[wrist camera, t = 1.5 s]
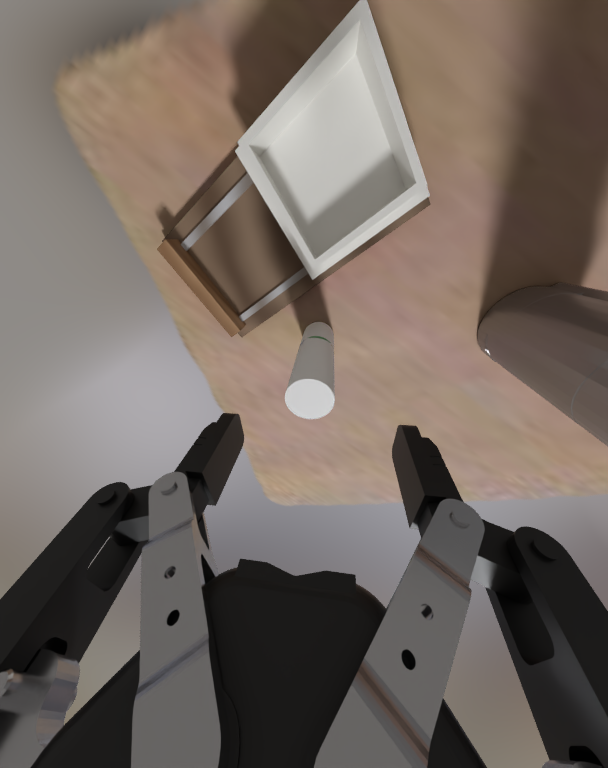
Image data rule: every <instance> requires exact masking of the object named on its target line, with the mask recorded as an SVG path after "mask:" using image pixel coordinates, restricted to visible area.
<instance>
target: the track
mask: <svg viewBox="0 0 608 768" xmlns="http://www.w3.org/2000/svg"><path fill="white" fill-rule="evenodd" d="M429 205H430V201H429V198H428V197H427V198H426V199H424V200H423V201H422V202H420V203H419V204H417V205H416V206H415V207H413V208H412V209H410V210H409V211H408V212H406V213H405V214H404V215H402V216H401V217H399V218H398V219H397V220H395V221H394V222H392V223H391V224H390V225H388V226H387V227H385V228H384V229H383V230H381V231H380V232H378V233H377V234H376V235H374V236H373V237H372V238H370V239H369V240H367V241H366V242H365V243H363V244H362V245H360V246H359V247H358V248H356V249H355V250H353V251H352V252H351V253H349V254H348V255H347V256H345V257H344V258H342V259H341V260H340V261H338V262H337V263H335V264H334V265H333V266H331V267H330V268H328V269H327V270H326V271H324V272H323V273H321V274H320V275H319V276H317V277H316V278H315V279H313V280H312V278H311V277H310V275H309V273H308V272H307V270H306V268H305V267H304V265H303V263H302V262H301V260H300V258H299V257H298V255H297V253H296V252H295V250H294V248H293V247H292V245H291V243H290V242H289V240H288V238H287V237H286V235H285V233H284V232H283V230H282V228H281V227H280V225H279V223H278V222H277V220H276V219H275V217H274V215H273V214H272V212H271V210H270V209H269V207H268V205H267V204H266V202H265V200H264V199H263V197H262V195H261V194H260V192H259V190H258V189H257V187H256V185H255V184H254V182H253V180H252V179H251V177H250V175H249V174H248V172H247V170H246V169H245V167H244V166H243V164H242V162H241V161H240V159H239V157H238V156H237V157H236V158H235V159H234V161H233V162H232V163H231V164H230V165H229V166H228V167H227V168H226V170H225V171H224V172H223V173H222V174H221V175H220V176H219V177H218V179H217V180H216V181H215V182H214V183H213V184H212V185H211V187H210V188H209V189H208V190H207V191H206V192H205V193H204V194H203V196H202V197H201V198H200V199H199V200H198V201H197V202H196V203H195V205H194V206H193V207H192V208H191V209H190V210H189V211H188V212H187V214H186V215H185V216H184V217H183V218H182V219H181V220H180V221H179V223H178V224H177V225H176V226H175V227H174V228H173V229H172V230H171V232H170V233H169V234H168V235H167V236H166V237H165V238H164V240H163V241H162V242H163V243H162V244H161V245H160V246H159V247H158V248H157V250H158V251H159V252H160V253H161V255H162V256H163V257H164V258H165V259H166V261H167V262H168V263H169V264H170V265H171V266H172V268H173V269H174V270H175V271H176V272H177V274H178V275H179V276H180V277H181V278H182V279H183V281H184V282H185V283H186V284H187V285H188V286H189V288H190V289H191V290H192V291H193V292H194V294H195V295H196V296H197V297H198V298H199V299H200V301H201V302H202V303H203V304H204V305H205V306H206V308H207V309H208V310H209V311H210V312H211V314H212V315H213V316H214V317H215V318H216V319H217V321H218V322H219V323H220V324H221V325H222V327H223V328H224V329H225V330H226V331H227V332H228V334H229V335H230V336H231V337H232V336H234V335H235V334H237V333H238V334H239V335H240V336H241V337H243V336H244V335H246V334H247V333H249V332H250V331H251V330H253V329H254V328H256V327H257V326H259V325H260V324H261V323H263V322H264V321H266V320H267V319H269V318H270V317H271V316H273V315H274V314H276V313H277V312H278V311H280V310H281V309H283V308H284V307H286V306H287V305H288V304H290V303H291V302H293V301H294V300H295V299H297V298H298V297H300V296H301V295H303V294H304V293H305V292H307V291H308V290H310V289H311V288H313V287H314V286H315V285H317V284H318V283H320V282H321V281H322V280H324V279H325V278H327V277H328V276H330V275H331V274H332V273H334V272H335V271H337V270H338V269H340V268H341V267H342V266H344V265H345V264H347V263H348V262H349V261H351V260H352V259H354V258H355V257H357V256H358V255H359V254H361V253H362V252H364V251H365V250H366V249H368V248H369V247H371V246H372V245H374V244H375V243H376V242H378V241H379V240H381V239H382V238H384V237H385V236H386V235H388V234H389V233H391V232H392V231H393V230H395V229H396V228H398V227H399V226H401V225H402V224H403V223H405V222H406V221H408V220H409V219H411V218H412V217H413V216H415V215H416V214H418V213H419V212H420V211H422V210H423V209H425V208H426V207H428V206H429Z"/></svg>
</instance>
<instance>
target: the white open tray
mask: <svg viewBox="0 0 608 768" xmlns="http://www.w3.org/2000/svg"><path fill="white" fill-rule="evenodd" d="M237 143H238V144H239V147H238V148H237V149H236V150H235V152H236V154H237V156H238V157H239V159H240V161H241V162H242V164H243V166H244V167H245V169H246V170H247V172H248V174H249V175H250V177H251V179H252V180H253V182H254V184H255V185H256V187H257V189H258V190H259V192H260V194H261V195H262V197H263V199H264V200H265V202H266V204H267V205H268V207H269V209H270V210H271V212H272V214H273V215H274V217H275V219H276V220H277V222H278V223H279V225H280V227H281V228H282V230H283V232H284V233H285V235H286V237H287V238H288V240H289V242H290V243H291V245H292V247H293V248H294V250H295V252H296V253H297V255H298V257H299V258H300V260H301V262H302V263H303V265H304V267H305V268H306V270H307V272H308V273H309V275H310V277H311V278H312V280H313V279H315V278H316V277H317V276H319V275H320V274H321V273H323V272H324V271H326V270H327V269H328V268H330V267H331V266H333V265H334V264H335V263H337V262H338V261H340V260H341V259H342V258H344V257H345V256H347V255H348V254H349V253H351V252H352V251H353V250H355V249H356V248H358V247H359V246H360V245H362V244H363V243H365V242H366V241H367V240H369V239H370V238H372V237H373V236H374V235H376V234H377V233H378V232H380V231H381V230H383V229H384V228H385V227H387V226H388V225H390V224H391V223H392V222H394V221H395V220H397V219H398V218H399V217H401V216H402V215H404V214H405V213H406V212H408V211H409V210H410V209H412V208H413V207H415V206H416V205H417V204H419V203H420V202H422V201H423V200H424V199H426V198H427V197H429V196H430V194H429V191H428V188H427V186H428V185H427V182H426V179H425V176H424V173H423V170H422V167H421V164H420V161H419V158H418V155H417V152H416V149H415V146H414V142H413V139H412V136H411V133H410V130H409V127H408V124H407V121H406V118H405V115H404V112H403V109H402V106H401V103H400V100H399V97H398V94H397V91H396V87H395V84H394V81H393V78H392V75H391V72H390V69H389V66H388V63H387V60H386V57H385V54H384V51H383V48H382V45H381V42H380V39H379V36H378V33H377V29H376V26H375V23H374V20H373V17H372V14H371V11H370V8H369V5H368V2H367V0H359V1H358V3H357V4H356V5H355V6H354V7H353V8H352V10H351V11H350V12H349V13H348V14H347V15H346V17H345V18H344V19H343V20H342V21H341V22H340V23H339V25H338V26H337V27H336V28H335V29H334V30H333V32H332V33H331V34H330V35H329V36H328V37H327V39H326V40H325V41H324V42H323V43H322V44H321V46H320V47H319V48H318V49H317V50H316V51H315V53H314V54H313V55H312V56H311V57H310V58H309V59H308V61H307V62H306V63H305V64H304V65H303V66H302V68H301V69H300V70H299V71H298V72H297V73H296V75H295V76H294V77H293V78H292V79H291V80H290V82H289V83H288V84H287V85H286V86H285V87H284V88H283V90H282V91H281V92H280V93H279V94H278V95H277V97H276V98H275V99H274V100H273V101H272V102H271V104H270V105H269V106H268V107H267V108H266V109H265V111H264V112H263V113H262V114H261V115H260V116H259V117H258V119H257V120H256V121H255V122H254V123H253V124H252V126H251V127H250V128H249V129H248V130H247V131H246V133H245V134H244V135H243V136H242V137H241V138H240V140H239V141H238V142H237Z"/></svg>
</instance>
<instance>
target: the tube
mask: <svg viewBox="0 0 608 768" xmlns="http://www.w3.org/2000/svg"><path fill="white" fill-rule="evenodd" d="M285 402H286V405H287V407H288V408H289V410H290V411H291V412H292V413H294V414H295V415H297V416H299V417H302V418H305V419H317V418H321V417H323V416H325V415H327V414H328V413H329V412H330V411H331V410H332V408H333V406H334V402H335V392H334V334H333V331H332V329H331V327H330V326H329V325H327V324H326V323H323V322H314V323H311V324H310V325H308V326H307V328H306V329H305V331H304V334H303V337H302V341H301V344H300V347H299V350H298V354H297V357H296V360H295V364H294V367H293V370H292V374H291V377H290V380H289V384H288V387H287V390H286V394H285Z"/></svg>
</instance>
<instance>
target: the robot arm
mask: <svg viewBox="0 0 608 768" xmlns="http://www.w3.org/2000/svg"><path fill="white" fill-rule="evenodd" d="M477 339H478V344H479V346H480V348H481V350H482V351H483V352H484V353H485V354H486V355H488V356H489V357H490V358H491V359H492V360H494V361H495V362H497V363H498V364H500V365H501V366H502V367H503V368H505V369H506V370H507V371H509V372H510V373H511V374H513V375H514V376H515V377H517V378H518V379H519V380H521V381H522V382H523V383H524V384H526V385H527V386H528V387H530V388H531V389H532V390H534V391H535V392H536V393H538V394H539V395H540V396H542V397H543V398H544V399H546V400H547V401H548V402H550V403H551V404H552V405H554V406H555V407H556V408H558V409H559V410H560V411H562V412H563V413H564V414H566V415H567V416H568V417H569V418H571V419H572V420H573V421H575V422H576V423H577V424H579V425H580V426H581V427H583V428H584V429H585V430H587V431H588V432H589V433H591V434H592V435H593V436H595V437H596V438H597V439H599V440H600V441H601V442H603V443H604V444H605V445H607V446H608V292H607V291H602V290H597V289H592V288H587V287H582V286H577V285H572V284H566V283H561V282H560V283H558V284H555V285H553V286H550V287H541V286H535V287H528V288H524V289H521V290H518V291H516V292H514V293H512V294H509V295H507V296H506V297H504V298H503V299H502V300H500V301H499V302H497V303H496V304H495V305H494V306H493V307H492V308H491V309H490V310H489V311H488V313H487V314H486V315H485V317H484V318H483V320H482V322H481V324H480V327H479V330H478V337H477ZM243 443H244V434H243V429H242V425H241V420H240V416H239V414H231V413H223V414H222V415H221V416H220V418H219V420H218V421H217V423H216V422H213V423H211V424H210V425H208V426H207V427H206V428H205V429H204V430H203V431H202V432H201V434H200V436H199V437H198V439H197V440H196V441H195V443H194V445H193V446H192V447H191V448H190V450H189V451H188V453H187V454H186V456H185V457H184V459H183V460H182V461H181V463H180V464H179V466H178V467H177V469H176V470H175V471H174V472H172V473H169V474H166V475H164V476H162V477H161V478H159V479H158V480H157V481H156V482H155V483H154V484H153V485H151V486H146V487H141V488H136V489H131V490H130V488H129V487H128V485H127V484H125V483H122V482H116V483H113V484H109V485H107V486H105V487H103V488H101V489H100V490H99V491H97V492H96V493H95V494H93V495H92V497H91V498H90V499H89V500H88V501H87V502H86V503H85V504H84V505H83V507H82V508H81V509H80V510H79V511H78V512H77V513H76V514H75V516H74V517H73V518H72V519H71V520H70V521H69V522H68V524H67V525H66V526H65V527H64V528H63V529H62V530H61V532H60V533H59V534H58V535H57V536H56V537H55V538H54V539H53V541H52V542H51V543H50V544H49V545H48V546H47V547H46V548H45V550H44V551H43V552H42V553H41V554H40V555H39V556H38V557H37V559H36V560H35V561H34V562H33V563H32V564H31V566H30V567H29V568H28V569H27V570H26V571H25V572H24V573H23V574H22V576H21V577H20V578H19V579H18V580H17V581H16V582H15V584H14V585H13V586H12V587H11V588H10V589H9V590H8V591H7V593H6V594H5V595H4V596H3V597H2V598H1V599H0V768H487V767H486V765H485V764H484V762H483V761H482V759H481V758H480V756H479V754H478V753H477V751H476V749H475V748H474V746H473V745H472V743H471V742H470V740H469V738H468V737H467V735H466V734H465V732H464V730H463V729H462V727H461V726H460V724H459V723H458V721H457V720H456V718H455V716H454V715H453V713H452V711H451V710H450V708H449V707H448V705H447V704H446V702H445V700H444V699H443V695H444V692H445V689H446V685H447V681H448V678H449V674H450V671H451V667H452V664H453V660H454V656H455V653H456V649H457V645H458V642H459V638H460V635H461V631H462V628H463V624H464V621H465V617H466V613H467V610H468V606H469V603H470V598H471V589H470V588H469V583H470V580H472V581H474V582H476V583H478V584H480V585H482V586H484V587H485V588H486V590H487V593H488V595H489V598H490V601H491V604H492V606H493V609H494V612H495V615H496V617H497V620H498V623H499V625H500V628H501V631H502V633H503V636H504V639H505V641H506V644H507V647H508V649H509V652H510V655H511V658H512V660H513V663H514V666H515V668H516V671H517V674H518V676H519V679H520V682H521V684H522V687H523V690H524V693H525V695H526V698H527V700H528V703H529V706H530V709H531V711H532V714H533V717H534V719H535V722H536V724H537V728H538V730H539V732H540V736H541V738H542V741H543V743H544V746H545V749H546V752H547V754H548V757H549V761H548V762H546V763H545V764H544V765H543V766H542V768H608V611H607V610H606V608H605V607H604V605H603V604H602V602H601V601H600V599H599V598H598V596H597V595H596V593H595V592H594V590H593V589H592V587H591V586H590V584H589V583H588V581H587V580H586V579H585V577H584V576H583V574H582V573H581V571H580V570H579V568H578V567H577V565H576V564H575V562H574V561H573V559H572V558H571V556H570V555H569V554H568V552H567V551H566V550H565V549H564V547H563V546H562V545H561V544H560V543H558V542H557V541H556V540H555V539H554V538H552V537H550V536H549V535H548V534H546V533H544V532H542V531H540V530H538V529H535V528H531V527H520V528H518V529H517V530H516V531H515V532H512V531H510V530H507V529H504V528H502V527H500V526H497V525H494V524H492V523H489V522H487V521H485V520H483V519H481V517H480V516H479V515H478V513H476V511H475V510H474V509H473V508H471V507H470V506H469V505H467V504H466V503H464V502H463V500H462V498H461V496H460V494H459V492H458V490H457V488H456V486H455V484H454V482H453V479H452V477H451V475H450V473H449V471H448V469H447V467H446V465H445V463H444V460H443V459H442V456H441V454H440V452H439V450H438V448H437V446H436V445H435V444H434V443H433V442H432V441H431V440H430V439H429V438H423V437H421V435H420V432H419V430H418V428H417V427H416V426H409V425H399V426H398V428H397V432H396V436H395V440H394V443H393V448H392V458H393V463H394V467H395V471H396V475H397V479H398V483H399V487H400V491H401V495H402V499H403V503H404V506H405V511H406V515H407V519H408V523H409V527H410V529H417V530H419V532H420V535H421V540H420V542H419V544H418V546H417V548H416V550H415V552H414V554H413V556H412V558H411V560H410V562H409V564H408V566H407V568H406V570H405V572H404V574H403V576H402V578H401V580H400V582H399V585H398V586H397V588H396V590H395V592H394V594H393V596H392V598H391V600H390V603H389V604H388V607H387V608H385V607H384V606H383V605H382V604H381V602H379V600H378V599H377V598H376V597H375V596H374V595H372V594H371V593H370V592H369V591H367V590H366V589H364V588H363V587H361V586H359V585H357V584H356V578H355V575H353V574H346V573H339V572H331V571H322V572H316V573H310V574H305V575H299V576H293V575H291V574H289V573H287V572H285V571H283V570H281V569H279V568H277V567H275V566H273V565H271V564H269V563H267V562H260V561H253V560H246V559H240V561H239V564H238V567H237V568H234V569H230V570H227V571H225V572H223V573H221V574H219V573H218V570H217V566H216V563H215V560H214V558H213V554H212V549H211V545H210V540H209V535H208V530H207V526H206V521H205V516H204V513H203V512H204V510H205V508H206V506H207V505H216V504H217V502H218V499H219V497H220V495H221V493H222V491H223V488H224V486H225V484H226V482H227V480H228V477H229V475H230V473H231V471H232V468H233V466H234V464H235V462H236V460H237V458H238V455H239V453H240V451H241V449H242V446H243ZM108 537H110V538H109V540H108V541H107V542H106V544H105V545H104V543H105V541H106V540H107V539H108ZM103 545H104V547H103V548H102V550H101V551H100V552H99V550H100V549H101V547H102V546H103ZM98 552H99V554H98V555H97V557H96V558H95V559H94V557H95V556H96V554H97V553H98ZM141 553H142V560H141V561H142V562H141V621H140V650H139V651H138V652H137V653H136V654H135V655H134V656H133V657H132V658H131V659H130V660H129V661H128V662H127V663H126V664H125V665H124V666H123V667H122V668H121V669H120V670H119V671H118V672H117V673H116V674H115V675H114V676H113V677H112V678H111V679H110V680H109V681H108V682H107V683H106V684H105V685H104V686H103V687H102V688H101V689H100V690H99V691H98V692H97V693H96V694H95V695H94V696H93V697H92V698H91V699H90V700H89V701H88V702H87V703H86V704H85V705H84V706H83V707H82V708H81V709H80V710H79V711H78V712H77V713H76V714H75V715H74V716H73V717H72V718H71V719H70V720H69V721H68V722H67V723H66V724H65V725H64V719H65V715H66V711H67V710H68V709H69V708H70V707H71V705H72V704H73V702H74V700H75V697H76V695H77V684H78V680H79V675H80V668H79V662H80V660H81V659H82V657H83V655H84V653H85V651H86V650H87V648H88V646H89V644H90V643H91V641H92V639H93V637H94V636H95V634H96V632H97V630H98V629H99V627H100V625H101V623H102V621H103V620H104V618H105V616H106V615H107V612H108V611H109V609H110V607H111V605H112V604H113V602H114V600H115V599H116V597H117V595H118V593H119V592H120V590H121V588H122V586H123V584H124V583H125V581H126V579H127V578H128V576H129V574H130V572H131V570H132V569H133V567H134V565H135V563H136V562H137V560H138V558H139V556H140V555H141ZM93 559H94V561H93V562H92V564H91V565H90V563H91V561H92V560H93ZM89 565H90V567H89ZM88 567H89V568H88Z"/></svg>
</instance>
